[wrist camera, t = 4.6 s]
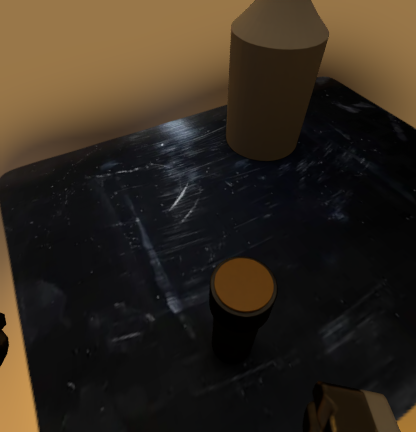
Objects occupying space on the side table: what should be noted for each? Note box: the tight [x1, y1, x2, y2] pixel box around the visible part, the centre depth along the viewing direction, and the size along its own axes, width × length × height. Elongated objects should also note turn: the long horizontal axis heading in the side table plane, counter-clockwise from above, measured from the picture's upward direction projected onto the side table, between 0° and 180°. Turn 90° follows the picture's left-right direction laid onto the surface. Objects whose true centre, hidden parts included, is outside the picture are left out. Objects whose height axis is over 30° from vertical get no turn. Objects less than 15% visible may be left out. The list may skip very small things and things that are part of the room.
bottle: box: [226, 0, 329, 161], centre depth 42 cm, size 12×12×25 cm
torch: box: [209, 256, 278, 364], centre depth 26 cm, size 5×5×12 cm
